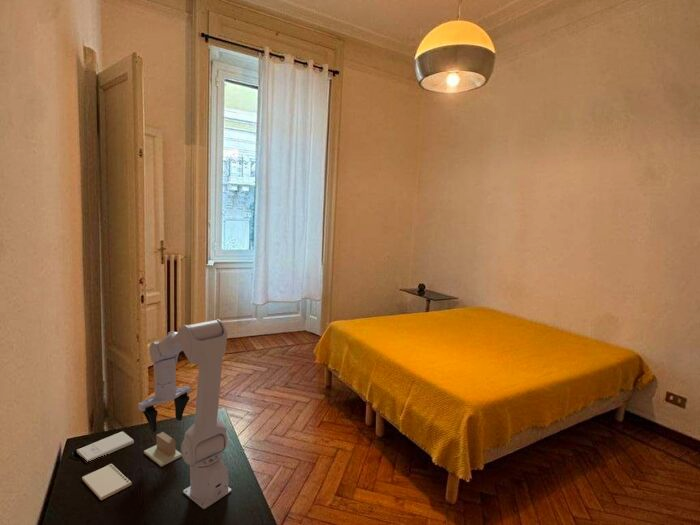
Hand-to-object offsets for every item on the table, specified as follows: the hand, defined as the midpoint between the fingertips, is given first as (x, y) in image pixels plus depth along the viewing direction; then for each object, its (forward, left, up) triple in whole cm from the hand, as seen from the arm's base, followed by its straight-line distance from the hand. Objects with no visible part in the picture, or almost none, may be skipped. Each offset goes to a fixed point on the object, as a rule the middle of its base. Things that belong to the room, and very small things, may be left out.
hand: (166, 424), depth 110 cm
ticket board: (0, +16, -9) cm, 18 cm away
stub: (0, +2, -9) cm, 9 cm away
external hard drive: (+16, +10, -9) cm, 21 cm away
